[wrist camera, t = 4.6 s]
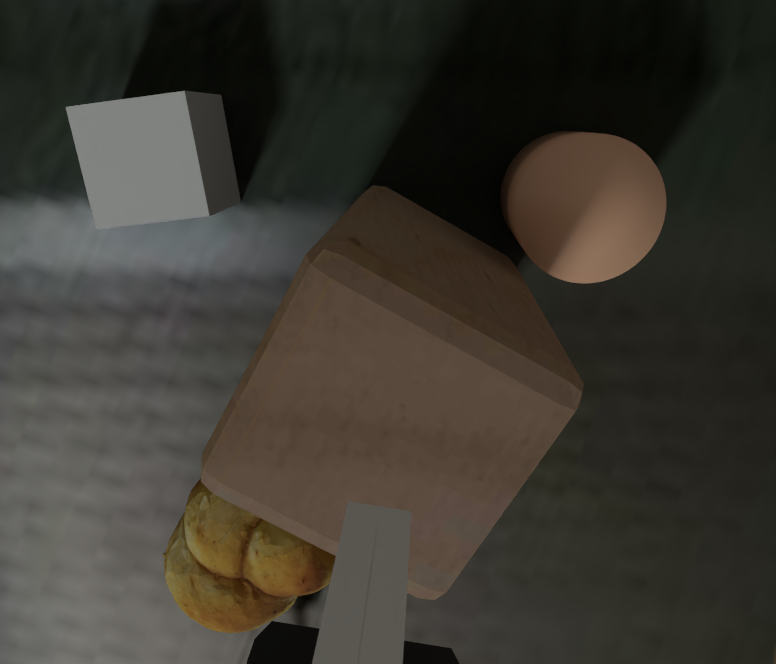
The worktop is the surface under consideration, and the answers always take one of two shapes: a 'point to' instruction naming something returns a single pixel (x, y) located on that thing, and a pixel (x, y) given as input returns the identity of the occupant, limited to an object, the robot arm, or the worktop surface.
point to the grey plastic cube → (155, 158)
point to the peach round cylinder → (583, 204)
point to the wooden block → (396, 390)
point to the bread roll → (238, 565)
